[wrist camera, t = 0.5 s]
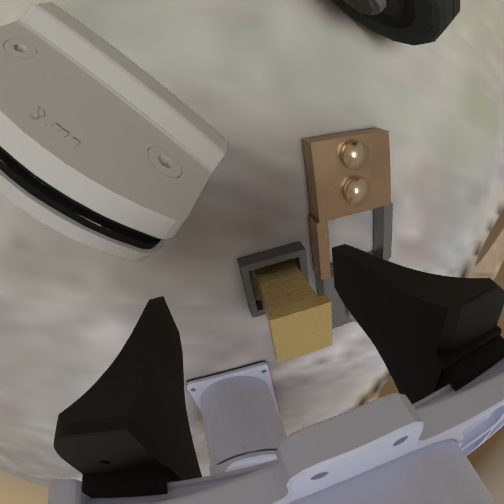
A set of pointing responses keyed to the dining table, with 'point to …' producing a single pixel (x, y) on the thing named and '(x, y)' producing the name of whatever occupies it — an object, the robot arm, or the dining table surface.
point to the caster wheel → (404, 17)
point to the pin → (293, 310)
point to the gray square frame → (265, 260)
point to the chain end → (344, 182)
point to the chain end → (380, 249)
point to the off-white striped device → (96, 138)
